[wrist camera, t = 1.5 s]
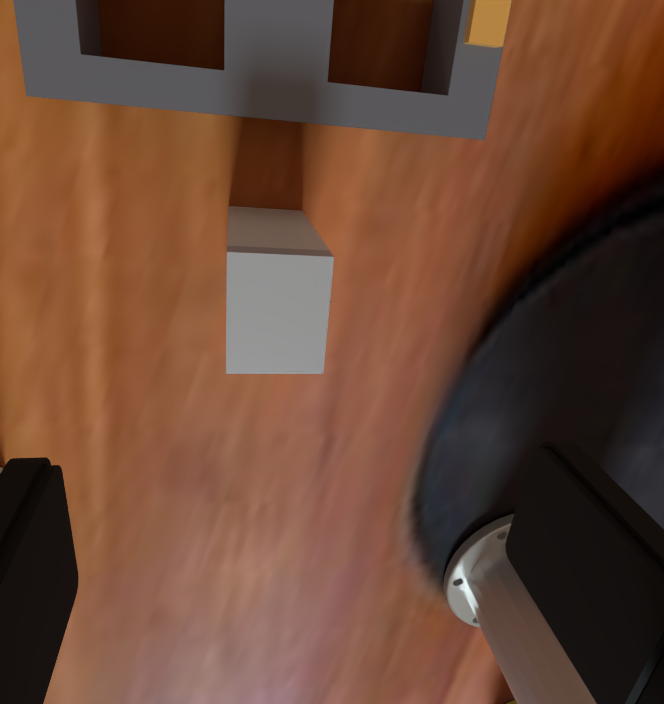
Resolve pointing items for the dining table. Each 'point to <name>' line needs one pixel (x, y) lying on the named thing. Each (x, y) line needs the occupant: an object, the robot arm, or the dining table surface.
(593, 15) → the dining table surface
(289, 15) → the power strip
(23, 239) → the dining table surface
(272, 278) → the plug
